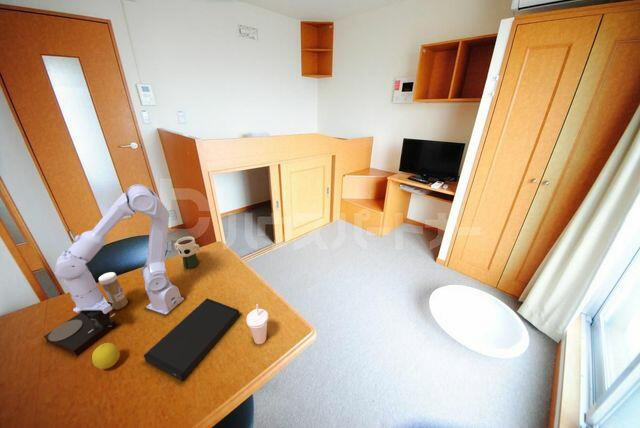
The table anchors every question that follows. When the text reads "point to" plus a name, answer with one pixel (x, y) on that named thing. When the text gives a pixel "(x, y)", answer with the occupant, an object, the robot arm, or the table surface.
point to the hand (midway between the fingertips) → (101, 322)
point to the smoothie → (258, 324)
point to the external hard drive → (192, 339)
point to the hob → (83, 335)
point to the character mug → (188, 251)
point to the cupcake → (96, 323)
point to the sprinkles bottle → (113, 290)
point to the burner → (65, 330)
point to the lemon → (105, 355)
